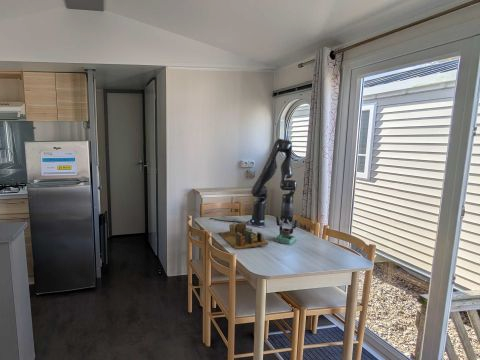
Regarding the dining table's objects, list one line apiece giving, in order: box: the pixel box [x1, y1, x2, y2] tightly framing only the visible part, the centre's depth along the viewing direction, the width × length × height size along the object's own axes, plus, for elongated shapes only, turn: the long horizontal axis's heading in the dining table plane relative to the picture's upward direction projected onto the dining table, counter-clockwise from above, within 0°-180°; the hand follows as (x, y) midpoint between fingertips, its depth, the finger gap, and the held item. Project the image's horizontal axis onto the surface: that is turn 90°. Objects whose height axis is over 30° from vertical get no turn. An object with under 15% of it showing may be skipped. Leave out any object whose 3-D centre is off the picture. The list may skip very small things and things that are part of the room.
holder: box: [275, 234, 296, 245], centre depth 205 cm, size 11×9×3 cm
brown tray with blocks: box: [218, 222, 269, 250], centre depth 207 cm, size 35×24×15 cm
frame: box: [279, 227, 292, 236], centre depth 205 cm, size 8×6×3 cm
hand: (286, 232), depth 205 cm, fingers closed on frame, 6 cm apart
